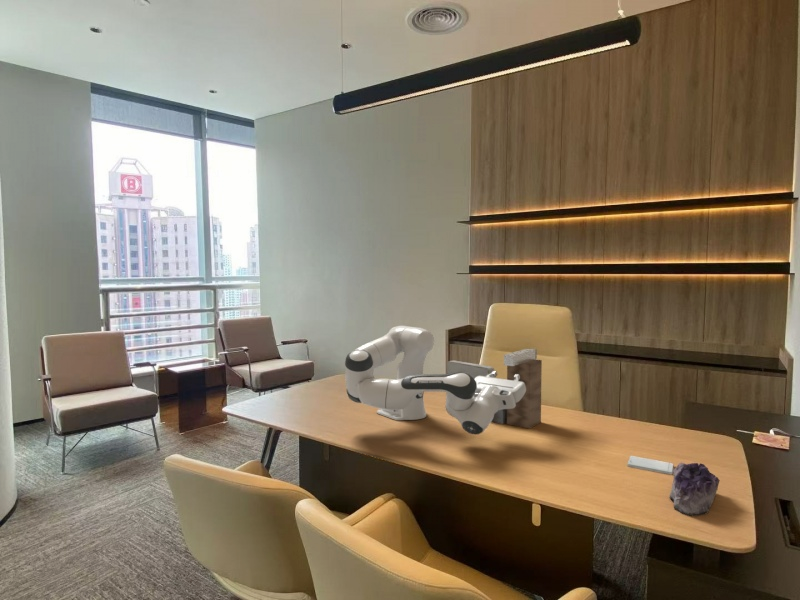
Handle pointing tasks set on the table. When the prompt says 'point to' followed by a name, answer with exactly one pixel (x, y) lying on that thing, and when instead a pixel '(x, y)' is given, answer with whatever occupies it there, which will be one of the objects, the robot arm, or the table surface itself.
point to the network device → (468, 369)
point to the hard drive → (650, 465)
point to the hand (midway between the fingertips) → (506, 373)
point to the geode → (693, 489)
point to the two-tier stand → (530, 403)
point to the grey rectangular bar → (520, 357)
